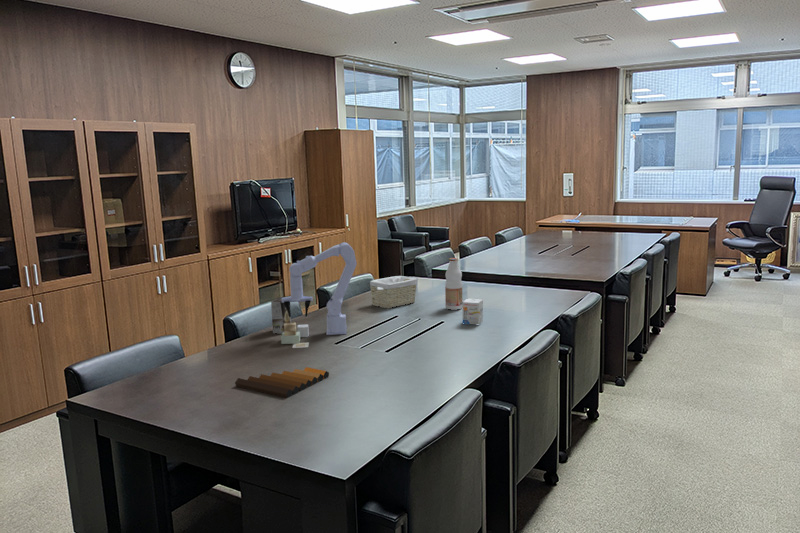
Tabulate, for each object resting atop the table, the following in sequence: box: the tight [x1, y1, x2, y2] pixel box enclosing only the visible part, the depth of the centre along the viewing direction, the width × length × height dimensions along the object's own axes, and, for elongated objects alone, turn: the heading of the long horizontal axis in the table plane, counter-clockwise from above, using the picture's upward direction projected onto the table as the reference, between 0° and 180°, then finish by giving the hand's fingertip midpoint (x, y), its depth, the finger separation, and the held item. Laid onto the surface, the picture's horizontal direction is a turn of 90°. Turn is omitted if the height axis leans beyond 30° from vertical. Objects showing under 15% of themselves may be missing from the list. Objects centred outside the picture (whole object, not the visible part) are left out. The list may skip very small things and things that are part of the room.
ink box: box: [461, 298, 484, 325], centre depth 311 cm, size 9×8×12 cm
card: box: [292, 342, 310, 349], centre depth 281 cm, size 7×7×1 cm
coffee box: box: [270, 297, 292, 335], centre depth 304 cm, size 9×6×16 cm
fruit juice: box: [444, 257, 464, 311], centre depth 340 cm, size 9×9×28 cm
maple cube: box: [284, 321, 297, 336], centre depth 286 cm, size 5×5×5 cm
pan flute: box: [234, 366, 330, 399], centre depth 235 cm, size 25×3×25 cm
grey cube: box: [296, 323, 310, 338], centre depth 296 cm, size 5×5×5 cm
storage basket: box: [369, 275, 418, 309], centre depth 355 cm, size 24×16×15 cm
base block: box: [280, 331, 301, 345], centre depth 287 cm, size 8×8×4 cm
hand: (298, 316), depth 296 cm, fingers open, 7 cm apart
